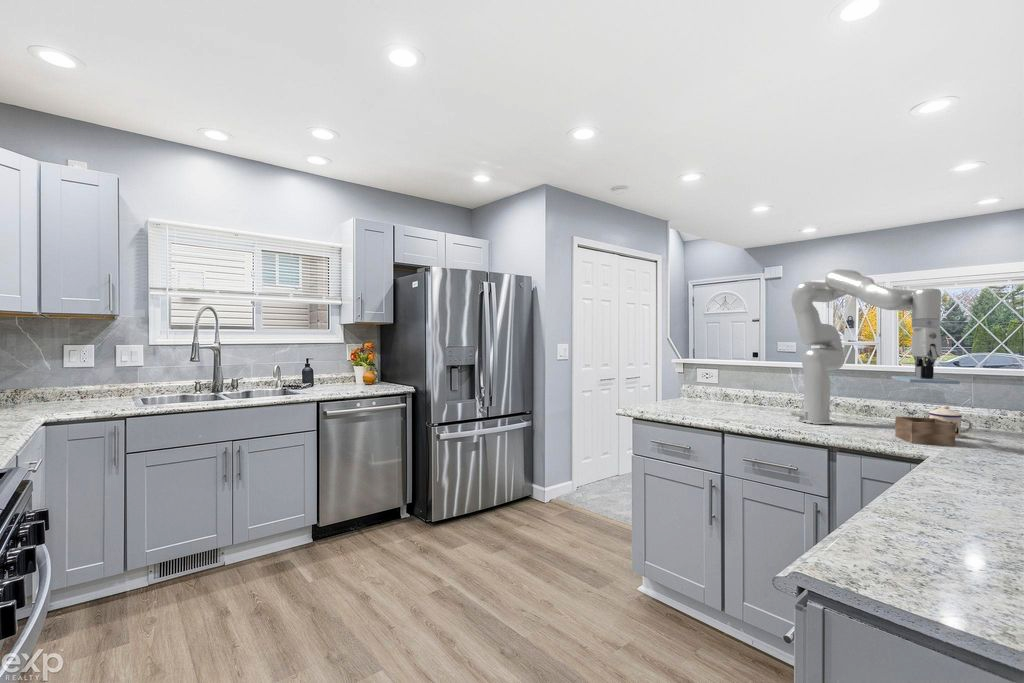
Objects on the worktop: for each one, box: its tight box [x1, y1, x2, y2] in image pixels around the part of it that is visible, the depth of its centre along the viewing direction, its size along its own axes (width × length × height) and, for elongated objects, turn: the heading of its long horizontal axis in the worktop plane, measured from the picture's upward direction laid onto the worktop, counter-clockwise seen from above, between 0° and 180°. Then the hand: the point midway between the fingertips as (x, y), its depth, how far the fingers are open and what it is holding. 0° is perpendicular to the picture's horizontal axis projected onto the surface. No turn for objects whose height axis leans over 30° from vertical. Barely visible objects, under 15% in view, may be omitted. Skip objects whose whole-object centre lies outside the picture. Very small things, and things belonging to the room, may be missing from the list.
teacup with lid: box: [928, 405, 974, 439], centre depth 176 cm, size 12×9×12 cm
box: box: [894, 415, 956, 447], centre depth 167 cm, size 12×12×8 cm
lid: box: [891, 366, 961, 385], centre depth 167 cm, size 14×14×5 cm
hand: (923, 376), depth 167 cm, fingers closed on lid, 3 cm apart
